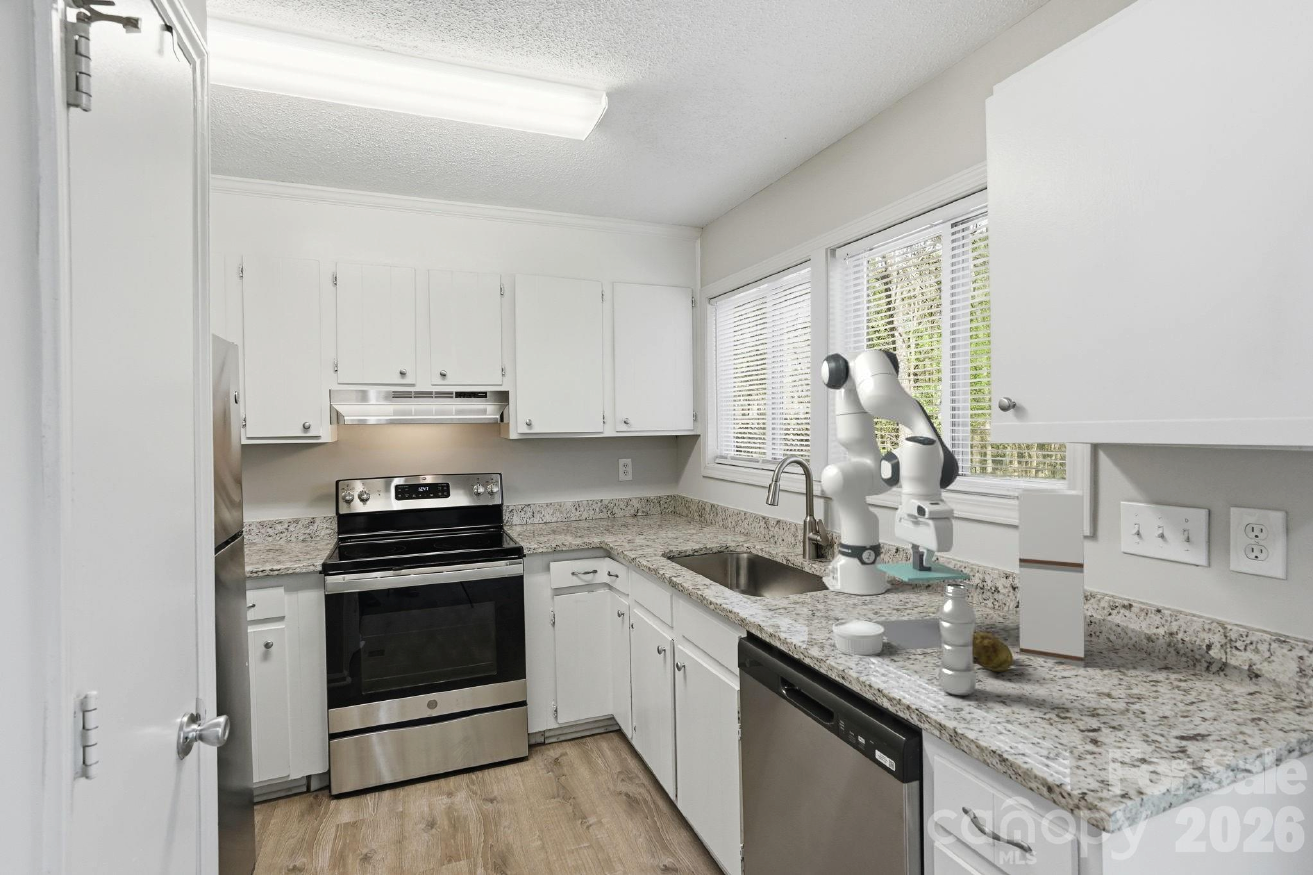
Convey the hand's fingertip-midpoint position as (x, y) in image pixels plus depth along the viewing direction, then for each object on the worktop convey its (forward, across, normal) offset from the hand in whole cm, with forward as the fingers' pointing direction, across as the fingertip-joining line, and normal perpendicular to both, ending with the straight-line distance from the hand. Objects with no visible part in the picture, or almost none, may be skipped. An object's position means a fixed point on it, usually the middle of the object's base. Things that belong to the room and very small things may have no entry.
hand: (921, 564), depth 155 cm
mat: (+17, 0, 0) cm, 17 cm away
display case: (+17, +17, +20) cm, 31 cm away
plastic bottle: (+17, +32, -11) cm, 38 cm away
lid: (+2, 0, 0) cm, 2 cm away
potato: (+17, +23, +2) cm, 29 cm away
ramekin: (+17, +7, -19) cm, 27 cm away
